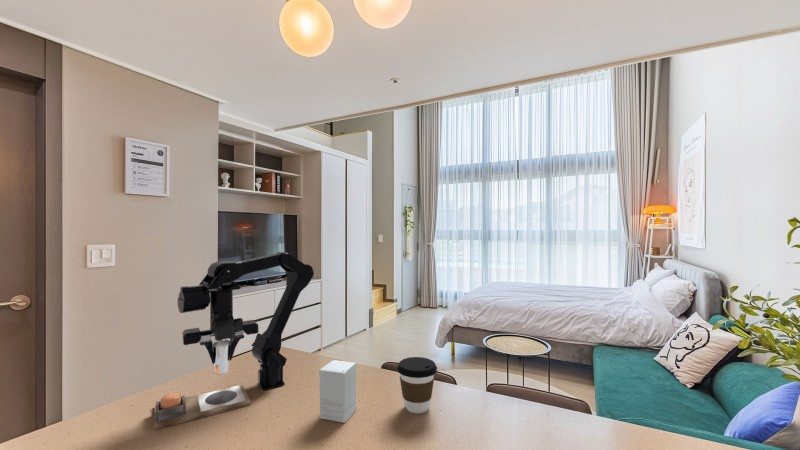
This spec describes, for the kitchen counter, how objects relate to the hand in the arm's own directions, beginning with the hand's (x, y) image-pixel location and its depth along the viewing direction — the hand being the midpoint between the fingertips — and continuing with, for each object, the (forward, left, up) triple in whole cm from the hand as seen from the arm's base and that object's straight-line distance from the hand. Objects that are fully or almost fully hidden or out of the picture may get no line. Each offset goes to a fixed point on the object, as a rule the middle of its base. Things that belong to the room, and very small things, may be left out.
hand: (221, 361), depth 100 cm
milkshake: (0, 0, -3) cm, 3 cm away
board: (+5, +1, -11) cm, 12 cm away
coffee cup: (-43, +34, -11) cm, 56 cm away
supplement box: (-24, +25, -11) cm, 37 cm away
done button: (+12, +2, -9) cm, 15 cm away
